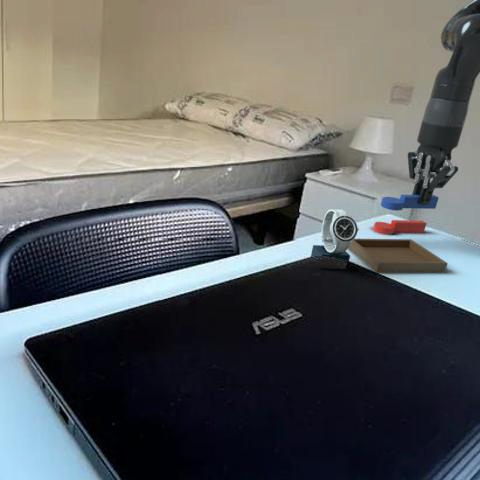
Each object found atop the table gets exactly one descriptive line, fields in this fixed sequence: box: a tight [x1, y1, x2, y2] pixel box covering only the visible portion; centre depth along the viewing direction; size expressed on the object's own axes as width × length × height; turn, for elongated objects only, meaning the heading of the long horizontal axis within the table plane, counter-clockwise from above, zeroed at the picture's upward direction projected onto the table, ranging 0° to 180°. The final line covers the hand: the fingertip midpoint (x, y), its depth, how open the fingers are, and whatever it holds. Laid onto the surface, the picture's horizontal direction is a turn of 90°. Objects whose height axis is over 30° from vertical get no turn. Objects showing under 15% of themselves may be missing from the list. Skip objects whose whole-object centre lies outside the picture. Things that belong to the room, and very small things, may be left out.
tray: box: [347, 238, 448, 273], centre depth 100 cm, size 15×12×2 cm
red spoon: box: [372, 219, 428, 236], centre depth 116 cm, size 12×4×3 cm, turn 99°
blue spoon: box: [380, 194, 440, 211], centre depth 107 cm, size 12×4×3 cm, turn 99°
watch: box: [310, 208, 360, 262], centre depth 94 cm, size 6×8×11 cm
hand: (419, 202), depth 108 cm, fingers closed on blue spoon, 1 cm apart
